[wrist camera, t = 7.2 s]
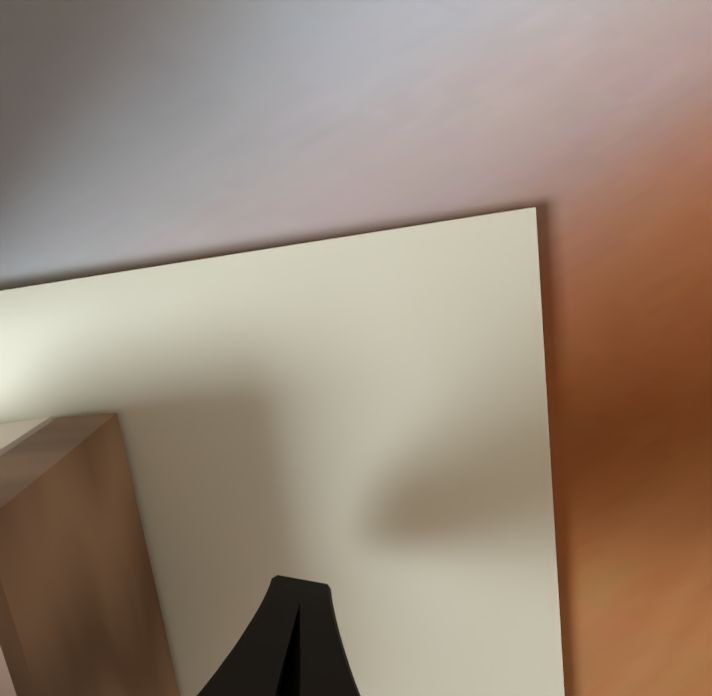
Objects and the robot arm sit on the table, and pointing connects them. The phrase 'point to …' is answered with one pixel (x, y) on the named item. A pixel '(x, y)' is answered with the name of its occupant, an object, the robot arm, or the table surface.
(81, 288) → the board
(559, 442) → the table surface
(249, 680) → the robot arm
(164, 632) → the brown wooden block
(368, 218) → the table surface
